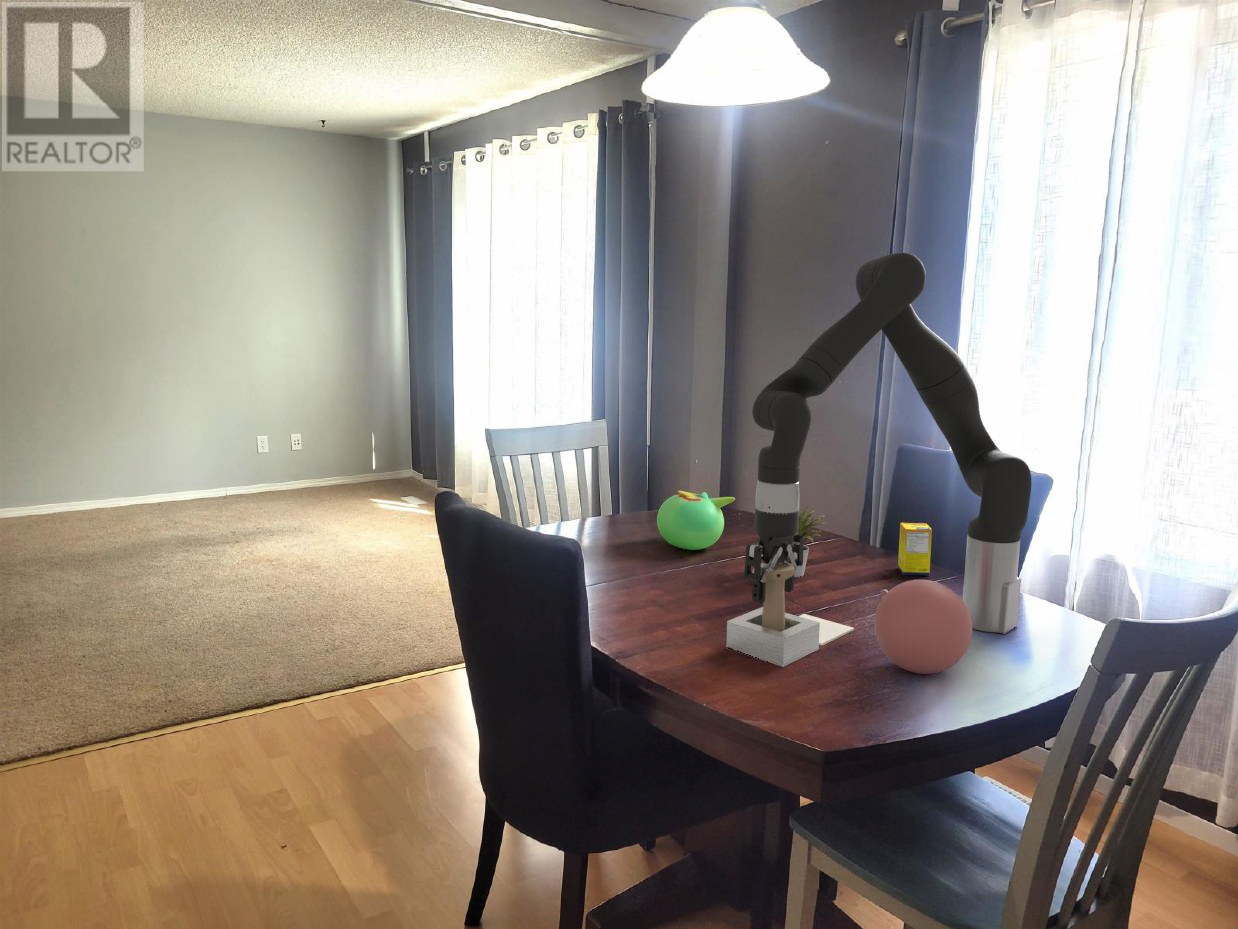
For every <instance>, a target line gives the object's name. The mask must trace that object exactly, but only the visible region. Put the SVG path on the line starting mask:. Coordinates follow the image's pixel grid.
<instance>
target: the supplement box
mask: <svg viewBox="0 0 1238 929" xmlns="http://www.w3.org/2000/svg"><path fill="white" fill-rule="evenodd" d="M932 533H933V530H932V528H931V527H930V525H929V524H927V523H923V522H918V523H917V522H916V523H914V522H900V524H899V539H898V561H897V562H898V563H897V569H898V570H899V572H900V573H901V575H902V576H926V577H928V576H930V573H931V572H930V570H931V553H932V551H931V550H932V536H933V535H932Z"/></svg>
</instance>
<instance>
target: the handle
mask: <svg viewBox="0 0 1238 929" xmlns="http://www.w3.org/2000/svg"><path fill="white" fill-rule="evenodd" d="M762 572H763V570H762V569H761V570H760V575H761V574H762ZM793 575H794V567H793V566H791V565H789V564H781V563H779V564H777V565H775V566H774V569H773V571H771V572H769V574H768V576H767V578H766V581H765V582H766V593H765V602H763V603H762V607H763V613H762V626H763V627H766V628H769V629H772V630H776V631H779V632H782V631H784V628H785V613H786V606H785V605H786V604H785V591H784V585H785V580H786V579H788V578H790V577H792V576H793Z"/></svg>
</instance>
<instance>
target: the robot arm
mask: <svg viewBox="0 0 1238 929" xmlns="http://www.w3.org/2000/svg"><path fill="white" fill-rule="evenodd" d="M926 280H927V273H926V268H925V266H924V264H923V262H922V260H921V259H920V258H918V256H916V255H914V254H912V253H909V252H896V253H895V252H894V253H891V254H887V255H883V256H881V257H878V258H877V257H876V258H875V259H872V260H871V259H870V260H869V261H867V262H865V263H863V265H861V266H860V268H859V269H858V271H857V274H856V276H855V287H856V288H855V290H856V293H857V295H858V297H859V299H860V301H858V303H857V304H856V305H855V306H854V307H852V309H851V310H850V311H848V312H847V313H846V314H845V315H844V316H843V317H841V318H839V320H837V321H836V322H834V324H832V325H831V326H830V327H829V328H828V329H826V330H825V331H824V332H823V333H821V334H820V335H819V336H818V337H817V338H816V339H815V340H814V341H813V342H812V343H811V344H810V346H808V348H807V349H806V350H805V351H804V353H803V354H802V355H801V356H800V357H799V358H798V360H797V361H796V362H795V363H794V365H793V366H791V367H790V368H789V369H787V370H785V371H784V372H783V373H781V374H780V375H778V377H776V378H775V379H774V380H772V381H771V382H770V383H768V384H767V385H766V386H765V387H764V388H763V389H762V390H761V391H760V392H759V394H758V395H757V397H756V398H755V400H754V402H753V406H752V412H751V413H752V417H753V421H754V422H755V424H756V425H757V426H758V427H760V428H762V429H763V430H768V431H772V432H774V433H773V435H772V436H773V438H772V442H771V444H769V445H766V446H764V447H762V448H761V449H760V451H759V454H758V460H757V461H758V462H757V465H758V466H757V483H756V484H757V485H756V488H755V501H754V502H755V503H754V504H755V505H754V523H753V524H754V525H753V526H754V527H753V528H754V529H753V530H754V532H755V533H756V534H757V535H758V537H759V539H758V542H757V544H751V543H749V544H747V545H746V547H745V558H744V559H745V560H744V572H743V573H744V578H745V579H748V580H751V581H752V583H751V584H752V585H751V586H752V587H751V588H752V590H751V598H752V601H753V602H756V603H758V604H763V603H764V602H765V593H766V582H765V581H766V578H767V576H768V574H769V572H771V571H773V569H774V566H775V565H777V564H779V563H781V564H789V565H791V566H793V567H794V572H795V571H796V570H797V567H798V566H802V564H803V545H804V543H803V537H804V536H803V534H804V533H803V534H799V533H798V523H799V515H800V498H801V497H800V496H801V494H800V491H801V490H800V471H801V470H800V466H801V464H800V463H801V461H800V460H801V456H802V454H803V451H804V448H805V445H806V441H807V438H808V434H809V431H810V427H811V424H812V423H811V422H812V411H811V406H810V404H809V401H808V400H807V399H808V398H812V397H818V396H820V395H823V394H824V393H825V392H826V391H827V390H828V389H829V388H830V386H831V385H832V384H833V383H834V382H835V380H836V379H837V378H838V377H839V376H840V374H842V372H843V371H844V370H845V368H847V367H848V365H849V364H850V363H851V362H852V361H853V359H854V358H855V357H856V356H857V355H858V354H859V353H860V352H861V350H863V349H864V348H865V346H867V344H869V342H870V341H871V340H872V339H873V338H874V337H876V335H877V334H878V333H879V332H880V331H882V333H883V334H884V336H885V337H886V339H887V340H888V342H889V344H890V345H891V347H892V349H893V350H894V352H895V354H896V356H897V357H898V359H899V361H900V362H901V364H902V365H903V367H904V369H905V371H906V373H907V374H908V376H909V379H910V380H911V382H912V384H913V386H914V388H915V390H916V392H917V393H918V394H919V397H920V398H921V401H922V402H923V403H924V406H925V407H926V408H927V410H928V411H929V413H930V415H931V417H932V418H933V421H934V422H935V423H936V426H937V427H938V428H939V430H940V432H941V433H942V435H943V436H944V438H945V440H946V441H947V443H948V445H949V447H950V449H951V451H952V453H953V456H954V458H955V461H956V463H957V466H958V467H959V470H960V473H961V475H962V478H963V480H964V481H965V483H966V485H967V488H969V490H970V491H971V492H973V494H974V495H976V496H978V497H979V498H980V506H979V513H978V515H977V516H976V517H973V518H972V519H970V520H969V522H968V525H967V536H966V537H967V538H966V549H965V550H966V552H965V563H964V577H963V590H962V601H963V602H964V603H965V605H966V607H967V609H968V611H969V614H970V617H971V621H972V630H977V631H981V632H988V633H997V634H998V633H1000V634H1004V635H1005V634H1007V633H1009V632H1010V631H1011V630H1014V629H1015V628H1016V627H1018V619H1019V610H1020V597H1021V596H1020V595H1021V587H1022V586H1021V585H1022V584H1021V583H1022V578H1020V577H1018V573H1019V572H1018V571H1019V560H1020V559H1019V558H1020V549H1021V537H1022V536H1021V535H1022V532H1023V529H1024V528H1025V526H1026V524H1027V520H1028V515H1029V509H1030V502H1031V493H1032V473H1031V468H1030V467H1029V465H1028V464H1027V462H1025V460H1023V459H1022V458H1020V457H1018V456H1015V455H1011V454H1010V453H1009V454H1008V453H1006V452H1003V451H1002V450H1000V449H999V447H998V446H997V445H996V444H995V442H994V441H993V439H992V437H991V436H990V434H989V432H988V430H987V429H986V427H985V426H984V423H983V420H982V417H981V414H980V413H981V412H980V402H979V396H978V390H977V388H976V384H975V382H974V381H973V378H972V377H971V374H970V373H969V371H968V369H967V367H966V366H965V363H964V361H963V360H962V358H961V356H960V355H959V354H958V352H956V350H955V349H954V348H953V347H952V346H950V345H949V343H948V342H946V341H945V340H944V339H942V338H941V337H940V336H939V335H938V334H936V333H935V332H934V331H932V329H930V328H929V327H928V326H926V324H925V323H924V322H923V321H922V319H920V317H919V316H918V315H917V313H916V311H915V310H914V308H913V306H912V304H913V303H914V301H916V300H917V298H918V297H920V295H921V294H922V293H923V291H924V289H925V286H926V283H927V281H926ZM794 552H795V553H797V558H795V556H794ZM762 561H763V562H762ZM752 567H753V569H752ZM761 569H762V570H763V572H762V574H761V575H760V570H761ZM794 585H795V577H794V575H793V576H792V577H790V578H788V579H786V580H785V585H784V593H785V592H786V593H792V592H794ZM1015 626H1016V627H1015ZM1014 627H1015V628H1014Z"/></svg>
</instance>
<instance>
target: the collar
mask: <svg viewBox="0 0 1238 929" xmlns="http://www.w3.org/2000/svg"><path fill="white" fill-rule="evenodd" d="M762 613H763V606H761V607H759V608H756V609H754V610H752V611H749V612H747V613H744V614H741V615H739V616H736V617H734V618H732V619H729V620H727V621H726V647H730V648H733V649H734V650H739V651H741V652H743V653H745V654H744V655H746V654H749V655H751V656H750V657H752V656H753V657H752V658H755V657H757V658H756V659H758V658H759V659H758V660H760V661H764V662H767V661H768V663H771V664H773V665H776V666H779V667H782V668H785V667H786V666H788V665H790V664H792V663H794V662H797V661H798V660H800V659H803V658H804V657H806V656H808V655H810V654H812V653H814V652H816V651H819V647H820V645H819V630H820V622H816V621H813V620H809V619H806V618H802V617H799V616H800V615H795V614H791V613H787V612H785V628H784V631H782V632H779V631H776V630H772V629H769V628H766V627H763V626H762ZM734 650H733V651H734ZM743 653H742V654H743ZM749 655H748V656H749Z"/></svg>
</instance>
